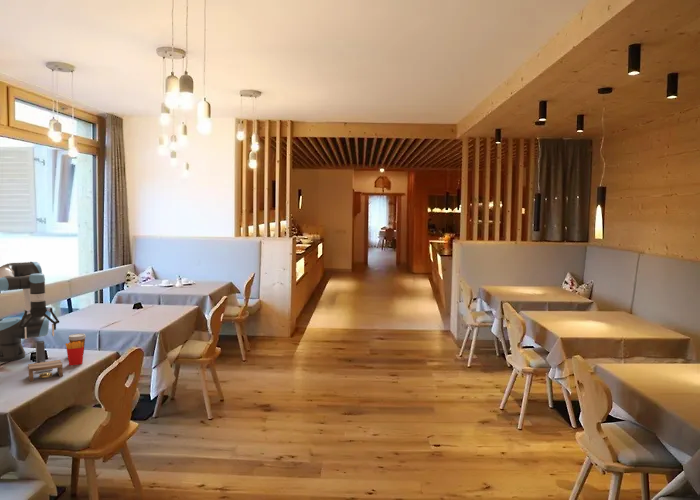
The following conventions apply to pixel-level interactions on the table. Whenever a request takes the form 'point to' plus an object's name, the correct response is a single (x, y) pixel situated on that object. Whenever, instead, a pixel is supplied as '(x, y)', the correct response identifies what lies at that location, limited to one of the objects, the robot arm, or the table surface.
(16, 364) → the table surface
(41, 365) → the walnut bench
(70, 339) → the disposable coffee cup
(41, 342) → the steel scraper
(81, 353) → the french fries
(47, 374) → the brass disc
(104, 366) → the table surface
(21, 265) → the robot arm
